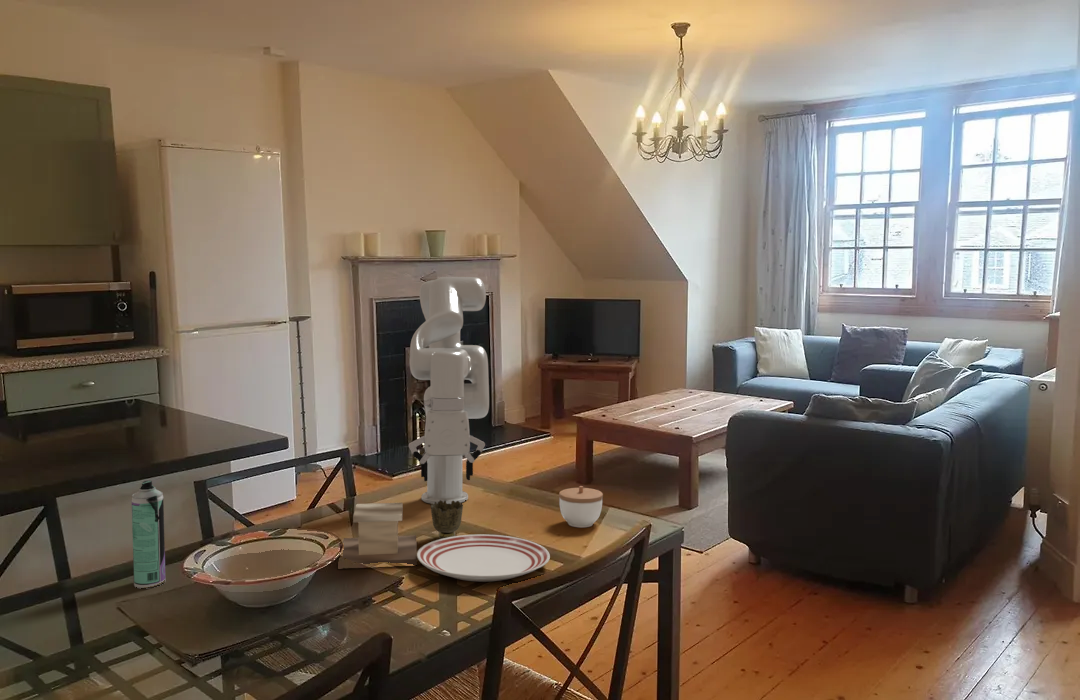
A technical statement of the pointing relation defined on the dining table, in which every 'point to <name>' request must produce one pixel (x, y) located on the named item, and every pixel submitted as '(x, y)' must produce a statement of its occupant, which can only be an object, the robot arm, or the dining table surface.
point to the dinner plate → (483, 557)
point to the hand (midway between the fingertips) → (447, 479)
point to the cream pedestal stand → (380, 536)
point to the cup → (446, 517)
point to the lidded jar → (580, 506)
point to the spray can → (148, 536)
